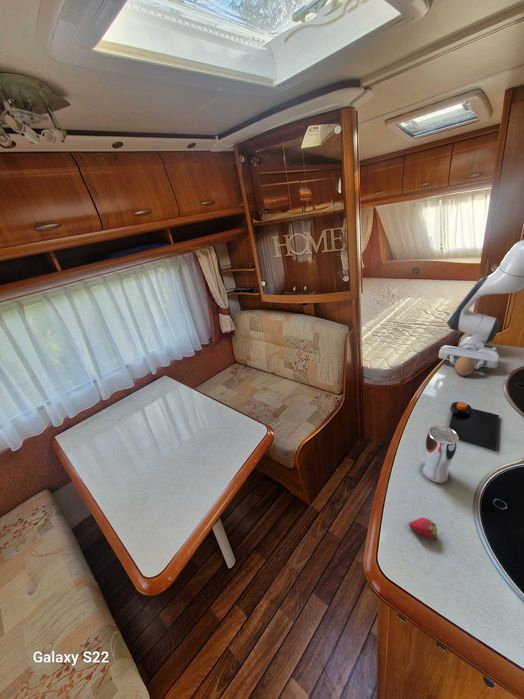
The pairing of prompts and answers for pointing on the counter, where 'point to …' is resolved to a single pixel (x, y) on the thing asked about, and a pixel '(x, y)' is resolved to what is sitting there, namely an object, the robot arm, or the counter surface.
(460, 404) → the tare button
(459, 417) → the scale
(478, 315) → the robot arm
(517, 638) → the counter surface
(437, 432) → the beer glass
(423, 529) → the fruit
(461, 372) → the egg
